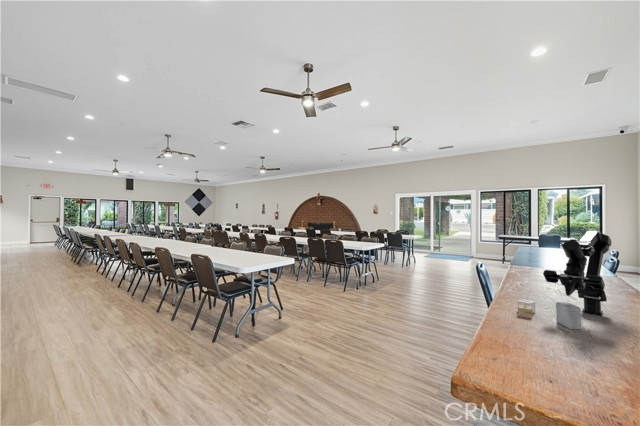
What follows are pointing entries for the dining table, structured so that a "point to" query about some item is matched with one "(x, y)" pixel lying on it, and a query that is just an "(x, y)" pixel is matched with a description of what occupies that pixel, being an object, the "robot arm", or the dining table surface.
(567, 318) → the medicine box
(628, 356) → the dining table surface
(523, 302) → the grey block
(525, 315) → the oak block
